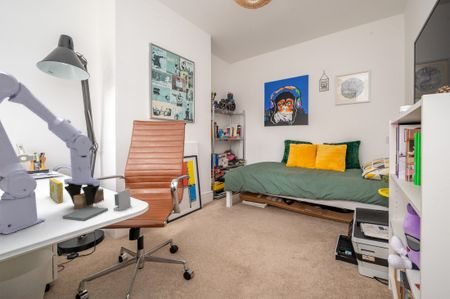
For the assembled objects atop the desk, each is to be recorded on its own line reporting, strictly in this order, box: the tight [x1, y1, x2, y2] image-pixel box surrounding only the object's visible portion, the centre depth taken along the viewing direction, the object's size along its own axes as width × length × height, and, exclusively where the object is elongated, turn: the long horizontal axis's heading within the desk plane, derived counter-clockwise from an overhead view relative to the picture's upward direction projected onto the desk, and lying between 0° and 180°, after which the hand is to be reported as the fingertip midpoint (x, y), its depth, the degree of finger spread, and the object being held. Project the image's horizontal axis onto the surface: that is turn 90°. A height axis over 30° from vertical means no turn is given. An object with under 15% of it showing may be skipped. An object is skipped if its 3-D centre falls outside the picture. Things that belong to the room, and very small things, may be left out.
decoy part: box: [94, 187, 105, 204], centre depth 82 cm, size 4×4×5 cm
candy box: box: [48, 178, 64, 204], centre depth 86 cm, size 16×2×8 cm, turn 50°
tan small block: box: [73, 192, 94, 211], centre depth 75 cm, size 4×4×5 cm
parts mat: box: [62, 206, 109, 222], centre depth 68 cm, size 9×9×1 cm
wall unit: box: [113, 187, 132, 212], centre depth 73 cm, size 5×3×7 cm, turn 165°
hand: (83, 203), depth 75 cm, fingers open, 6 cm apart
